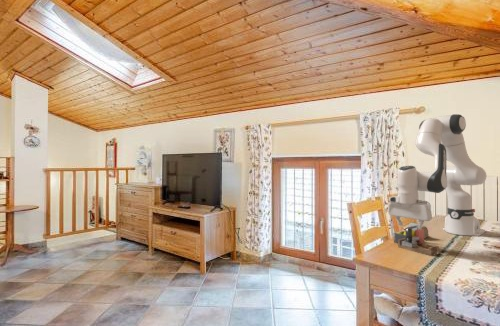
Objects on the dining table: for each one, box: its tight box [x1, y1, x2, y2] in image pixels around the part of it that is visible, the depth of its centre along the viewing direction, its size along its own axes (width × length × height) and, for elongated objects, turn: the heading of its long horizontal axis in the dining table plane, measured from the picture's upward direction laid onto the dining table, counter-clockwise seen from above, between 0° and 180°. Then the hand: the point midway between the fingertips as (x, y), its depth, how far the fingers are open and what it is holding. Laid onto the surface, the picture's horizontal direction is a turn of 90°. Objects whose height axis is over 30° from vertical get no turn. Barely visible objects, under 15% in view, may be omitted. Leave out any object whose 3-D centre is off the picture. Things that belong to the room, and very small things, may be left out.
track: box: [397, 238, 438, 257], centre depth 133 cm, size 5×16×4 cm, turn 29°
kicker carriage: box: [402, 227, 425, 248], centre depth 139 cm, size 13×5×9 cm, turn 119°
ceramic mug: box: [407, 222, 429, 239], centre depth 156 cm, size 11×8×8 cm
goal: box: [393, 226, 417, 244], centre depth 147 cm, size 12×7×9 cm, turn 119°
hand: (409, 227), depth 137 cm, fingers open, 8 cm apart
